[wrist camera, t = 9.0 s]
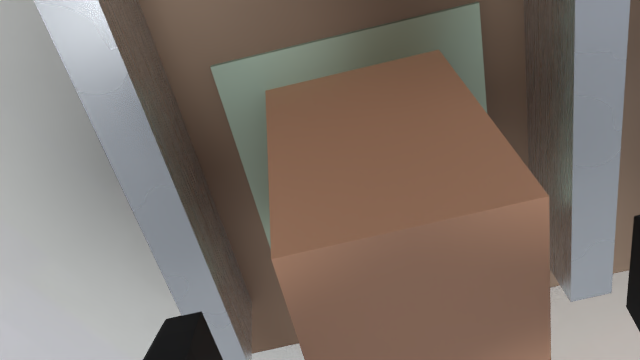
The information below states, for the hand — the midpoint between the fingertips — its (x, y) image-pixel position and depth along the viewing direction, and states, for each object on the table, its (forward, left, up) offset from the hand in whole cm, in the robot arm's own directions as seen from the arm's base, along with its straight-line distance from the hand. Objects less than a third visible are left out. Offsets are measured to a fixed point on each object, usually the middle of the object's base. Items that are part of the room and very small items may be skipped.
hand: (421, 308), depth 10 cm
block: (0, 0, -5) cm, 5 cm away
